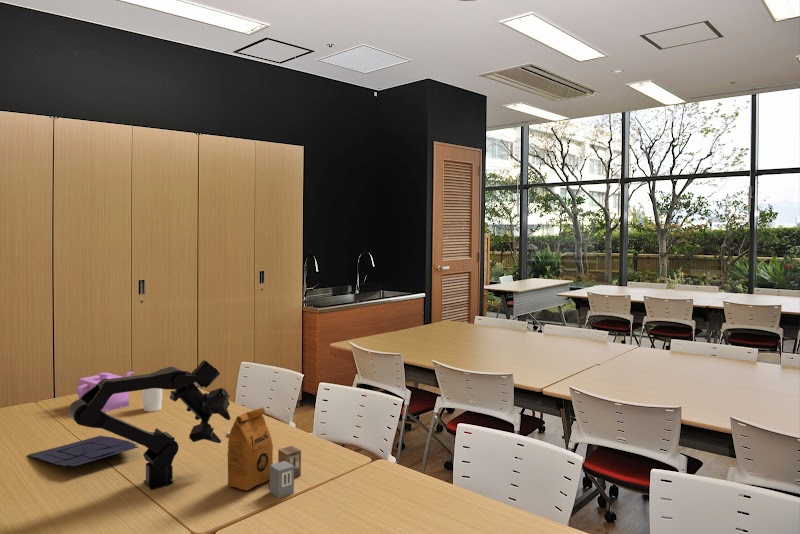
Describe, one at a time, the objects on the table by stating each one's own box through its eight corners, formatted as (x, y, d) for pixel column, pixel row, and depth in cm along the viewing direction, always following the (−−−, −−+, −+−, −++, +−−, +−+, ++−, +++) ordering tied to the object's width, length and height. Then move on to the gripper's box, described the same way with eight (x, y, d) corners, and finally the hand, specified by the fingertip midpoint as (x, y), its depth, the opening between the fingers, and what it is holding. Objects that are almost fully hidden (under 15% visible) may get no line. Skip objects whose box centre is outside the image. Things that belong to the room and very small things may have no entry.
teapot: (144, 401, 252) (144, 369, 251) (86, 416, 231) (86, 381, 230) (124, 395, 260) (124, 364, 259) (66, 409, 239) (66, 375, 238)
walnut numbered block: (287, 480, 177) (287, 454, 176) (278, 474, 181) (278, 449, 180) (301, 476, 180) (301, 450, 180) (292, 470, 184) (292, 445, 184)
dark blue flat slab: (67, 477, 172) (66, 465, 172) (26, 463, 191) (25, 452, 191) (146, 453, 192) (145, 442, 192) (101, 443, 210) (101, 432, 210)
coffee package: (277, 480, 177) (278, 408, 175) (246, 495, 166) (246, 419, 165) (255, 472, 182) (255, 402, 181) (222, 486, 172) (223, 412, 170)
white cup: (158, 412, 238) (157, 388, 237) (138, 412, 238) (138, 387, 237) (166, 406, 245) (165, 383, 245) (147, 406, 246) (147, 382, 245)
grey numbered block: (279, 498, 165) (279, 471, 164) (269, 492, 169) (269, 465, 168) (294, 493, 168) (294, 466, 168) (284, 487, 172) (285, 460, 172)
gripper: (204, 415, 168) (236, 448, 176) (225, 369, 184) (253, 402, 191) (174, 425, 172) (207, 457, 179) (197, 379, 187) (226, 410, 195)
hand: (224, 430), depth 186 cm, fingers open, 9 cm apart
